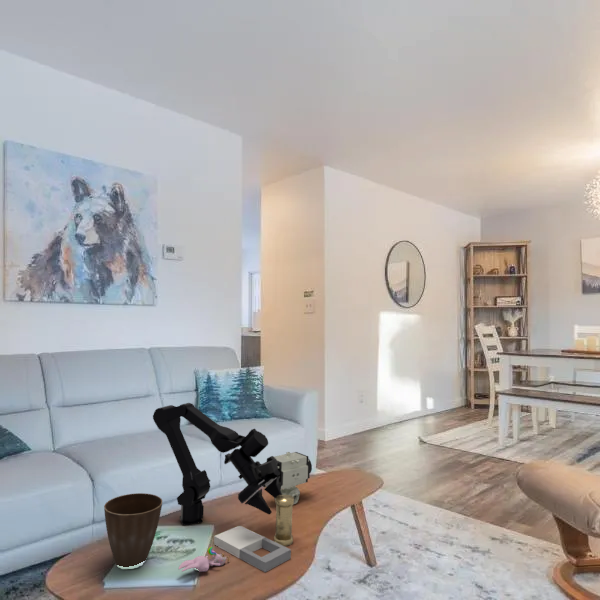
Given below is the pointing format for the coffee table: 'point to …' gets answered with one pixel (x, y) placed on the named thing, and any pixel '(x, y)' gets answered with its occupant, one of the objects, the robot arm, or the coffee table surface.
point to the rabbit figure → (204, 561)
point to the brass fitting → (284, 520)
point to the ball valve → (293, 472)
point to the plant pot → (132, 526)
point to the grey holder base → (252, 548)
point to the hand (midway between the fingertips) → (277, 507)
